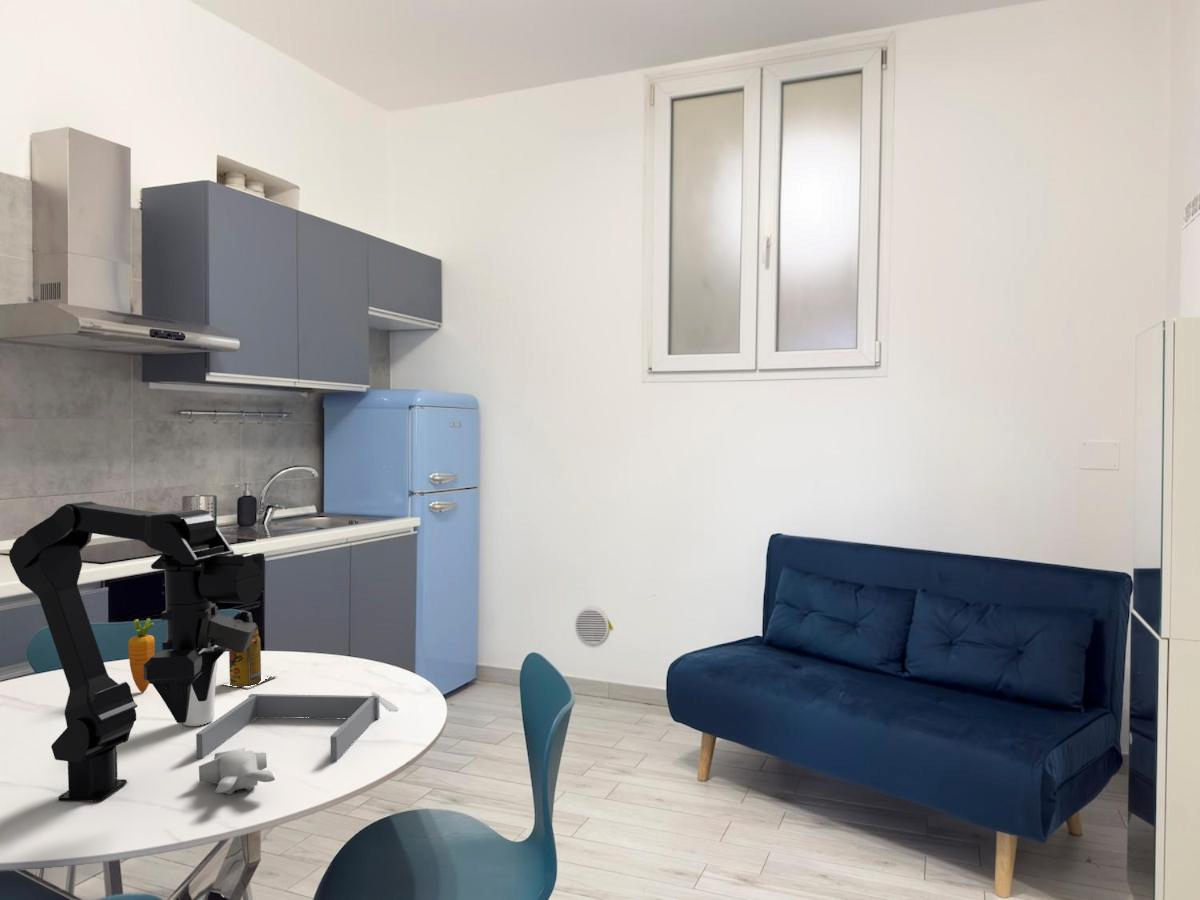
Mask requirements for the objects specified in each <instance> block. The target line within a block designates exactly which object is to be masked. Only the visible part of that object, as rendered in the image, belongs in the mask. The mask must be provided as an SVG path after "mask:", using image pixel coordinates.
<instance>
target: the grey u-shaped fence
mask: <svg viewBox="0 0 1200 900" xmlns="http://www.w3.org/2000/svg"><path fill="white" fill-rule="evenodd" d="M380 711H381V710H380V702H379V696H373V695H340V694H339V695H335V694H333V695H331V694H330V695H329V694H326V695H325V694H281V693H279V694H271V693H264V694H263V693H250V694H249V695H248V697H247V698H245V700H242V701H241V702H240V703H239V704H238V705H236V706H234V707H233V708H231V709H230V710H229V711H227V712H226V713H224V714H223V715H221V716H220V717H219V718H216V719H215V720H213V722H210V724H208V725H207V726H205V727H204V728H202V729H201V730H200V731H198V732H197V733H196V734H195V735H196V739H195V740H196V741H195V742H196V743H195V744H196V759H199V758H201V759H204V758H206V757H207V756H208V755H210V754H211V753H212V752H214V751H215V750H216V749H217V748H219V747H220V746H222V745H223V744H224V743H225V742H226V740H227V739H228V740H229V739H231V738H232V737H233V736H235V735H236V734H237V733H238V732H240V731H242V729H243V728H245V727H246V726H248V725H249V724H251V723H252V722H253V721H254V720H256V719H257V718H256V717H304V718H303V719H314V718H349V719H345V720H346V721H345V720H344V722H343V723H342V724H341V725H340V726H339V727H338V728H337V729H336V730H335V731H333V732H332V734H331V735H330V737H329V738H330V762H338V761H339V760H340V759H341V758H342V757H343V756H344V754H345V753H346V752H347V751H348V750H349V749H350V748H351V747H352V745H353V744H354V743H355V742H356V741H357V740H358V739H359V738H360V737H361V736H362V735H361V734H364V732H365V731H366V730H367V729H369V727H370V726H371V725H370V724H371V723H372V722H373V723H374V721H376V720H375V719H378V720H379V719H380V718H381V717H380V713H381V712H380ZM305 717H307V718H305ZM308 717H309V718H308ZM255 718H256V719H255ZM251 721H252V722H251ZM373 723H372V724H373ZM247 724H248V725H247ZM369 725H370V726H369ZM368 726H369V727H368ZM365 729H366V730H365ZM364 730H365V731H364ZM234 734H235V735H234ZM360 735H361V736H360ZM359 736H360V737H359ZM230 737H231V738H230ZM358 737H359V738H358ZM357 738H358V739H357ZM356 739H357V740H356ZM228 740H227V741H228ZM355 740H356V741H355ZM354 741H355V742H354ZM222 743H223V744H222ZM352 743H353V744H352ZM351 744H352V745H351ZM218 746H219V747H218ZM350 746H351V747H350ZM349 747H350V748H349ZM348 748H349V749H348ZM347 749H348V750H347ZM346 750H347V751H346ZM345 751H346V752H345ZM343 753H344V754H343ZM206 755H207V756H206ZM205 756H206V757H205ZM339 758H340V759H339ZM201 759H200V760H201ZM338 759H339V760H338ZM337 760H338V761H337Z"/></svg>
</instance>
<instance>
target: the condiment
mask: <svg viewBox="0 0 1200 900" xmlns="http://www.w3.org/2000/svg"><path fill="white" fill-rule="evenodd" d="M261 647H262V646H261V637H260V636H259V626H258V624H257V623H256V632H255V633H254V635H253V638H252V641H251V644H250V646H249V648H247V649H246V650H245V652H244V653H236V652H233V651H232V650H231V649H228V650H229V651H228V657H229V658H228V660H229V661H228V662H229V665H228V666H229V668H228V669H229V682H230V685H232V686H237V687H242V688H241V689H247V690H248V689H251V688H253V686H251V685H255V684H258V683H259V682H260V681H261V675H262V662H261V661H262V657H261V654H262V653H261V651H262V650H261ZM266 676H267V677H268V676H270V677H269V678H268V680H267V679H265V681H263V683H265V682H267V681H270V680H272V679H274V678H277V675H274V676H273V675H272V676H273V677H272V676H271V675H266ZM263 683H262V682H261V684H263ZM224 686H225V685H224ZM244 686H250V687H244ZM225 687H226V686H225ZM237 687H236V688H237Z"/></svg>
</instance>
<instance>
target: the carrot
mask: <svg viewBox="0 0 1200 900" xmlns="http://www.w3.org/2000/svg"><path fill="white" fill-rule="evenodd" d="M133 624H134V628H135V631H136V633H137V635H134V636H132V637H131V638H130V639H128V658H129V667H130V672H131V677H132V679H133V682H134V684H135V686H136V687H137V689H138V691H140V692H141V693H145V691H147V688H148V687H149V685H150V683H149V681H148V680H145V679H144V667H143V665H144V664H145V663H146V662H147V661H148V660H149V659H150V658H151V657H153V656H154V655H155V654H156V653H155V652H156V650H155V649H156V648H155V647H156V644H155V643H156V641H155V637H154V636H153V635H150V634H147V633H148V631H149V630H150V629H151V627H153V626H155V624H154V622H151V618H149V617H148V618H146V620H145V623H144V626H142V625H141V624H140V620H139V618H137V619H134V620H133Z"/></svg>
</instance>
